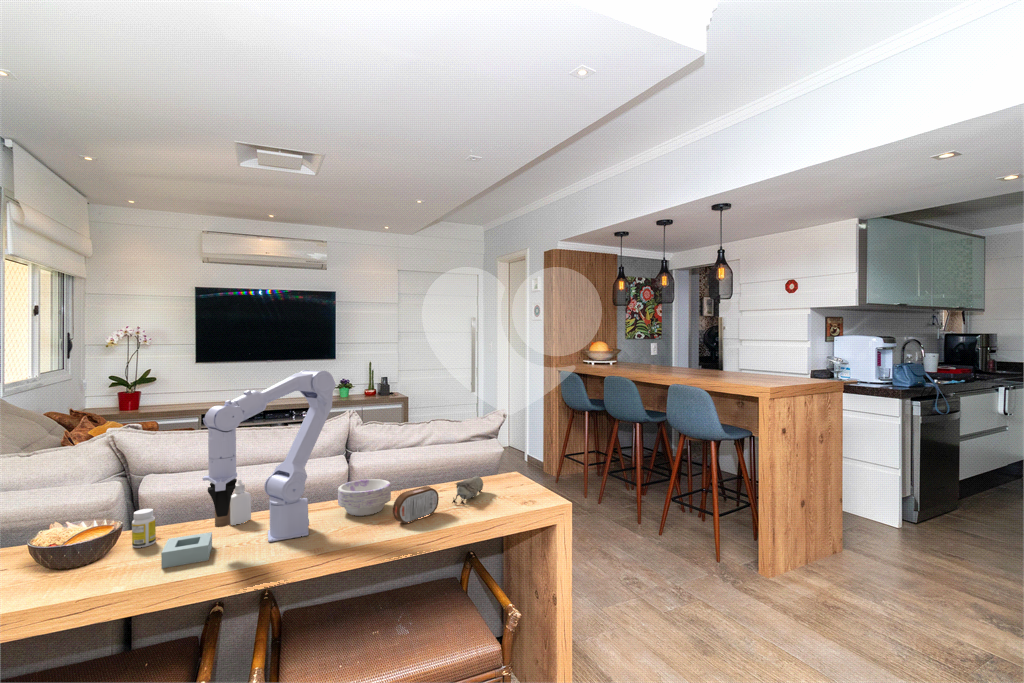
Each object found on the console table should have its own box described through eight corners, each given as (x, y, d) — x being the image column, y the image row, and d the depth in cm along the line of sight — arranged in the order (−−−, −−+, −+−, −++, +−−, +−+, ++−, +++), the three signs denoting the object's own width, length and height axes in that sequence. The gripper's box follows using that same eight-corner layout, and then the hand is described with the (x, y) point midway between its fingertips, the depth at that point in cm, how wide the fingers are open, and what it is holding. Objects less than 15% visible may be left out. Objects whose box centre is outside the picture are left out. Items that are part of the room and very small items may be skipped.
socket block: (212, 546, 123) (211, 532, 123) (208, 560, 115) (208, 545, 115) (168, 553, 119) (168, 538, 119) (161, 568, 111) (161, 552, 111)
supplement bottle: (152, 539, 128) (152, 506, 128) (158, 543, 125) (157, 510, 125) (129, 545, 124) (129, 511, 124) (135, 550, 121) (134, 515, 121)
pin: (230, 521, 120) (230, 488, 120) (230, 525, 117) (229, 491, 117) (215, 523, 119) (215, 490, 119) (214, 528, 116) (213, 493, 116)
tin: (433, 510, 148) (433, 482, 148) (440, 513, 146) (440, 484, 146) (391, 525, 136) (391, 494, 136) (398, 528, 134) (398, 497, 134)
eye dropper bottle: (228, 522, 140) (227, 479, 140) (250, 518, 143) (250, 476, 143) (229, 527, 136) (228, 483, 136) (252, 522, 139) (251, 480, 139)
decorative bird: (487, 493, 165) (487, 470, 165) (465, 508, 150) (464, 483, 150) (473, 491, 167) (473, 469, 167) (449, 506, 152) (449, 482, 152)
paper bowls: (364, 500, 158) (364, 475, 158) (401, 507, 151) (401, 481, 151) (326, 515, 145) (326, 488, 145) (365, 523, 138) (364, 495, 138)
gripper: (205, 452, 123) (206, 507, 123) (199, 465, 110) (199, 526, 110) (238, 449, 126) (239, 502, 126) (235, 461, 113) (236, 520, 113)
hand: (223, 513), depth 118 cm, fingers closed on pin, 3 cm apart
